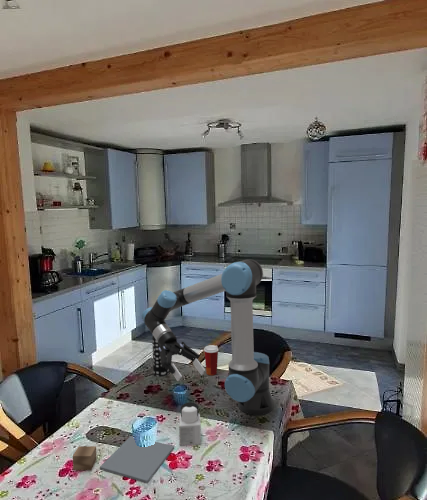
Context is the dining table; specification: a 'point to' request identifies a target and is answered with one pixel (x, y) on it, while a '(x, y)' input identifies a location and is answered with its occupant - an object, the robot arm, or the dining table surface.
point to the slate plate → (137, 460)
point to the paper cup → (211, 359)
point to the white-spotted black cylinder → (158, 360)
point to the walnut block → (84, 458)
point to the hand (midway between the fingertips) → (192, 375)
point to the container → (189, 425)
